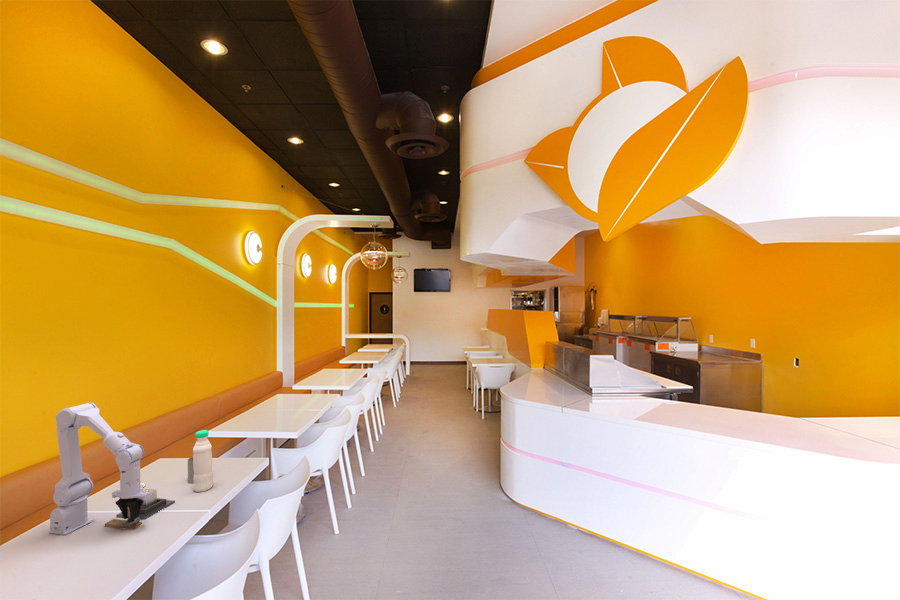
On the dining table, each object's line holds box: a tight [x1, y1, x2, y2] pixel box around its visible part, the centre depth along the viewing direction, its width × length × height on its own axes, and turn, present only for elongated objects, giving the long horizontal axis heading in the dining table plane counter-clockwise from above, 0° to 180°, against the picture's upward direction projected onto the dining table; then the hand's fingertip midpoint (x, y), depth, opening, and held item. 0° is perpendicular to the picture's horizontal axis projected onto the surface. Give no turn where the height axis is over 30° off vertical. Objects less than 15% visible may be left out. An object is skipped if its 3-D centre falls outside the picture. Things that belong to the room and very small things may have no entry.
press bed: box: [115, 497, 176, 520], centre depth 155 cm, size 13×13×2 cm
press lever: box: [122, 506, 141, 526], centre depth 143 cm, size 4×4×7 cm
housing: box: [141, 488, 158, 509], centre depth 156 cm, size 4×4×7 cm
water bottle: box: [192, 429, 213, 493], centre depth 172 cm, size 7×7×25 cm
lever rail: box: [104, 518, 143, 530], centre depth 144 cm, size 3×13×1 cm, turn 78°
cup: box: [187, 456, 194, 485], centre depth 182 cm, size 8×8×10 cm
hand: (131, 518), depth 143 cm, fingers open, 3 cm apart
